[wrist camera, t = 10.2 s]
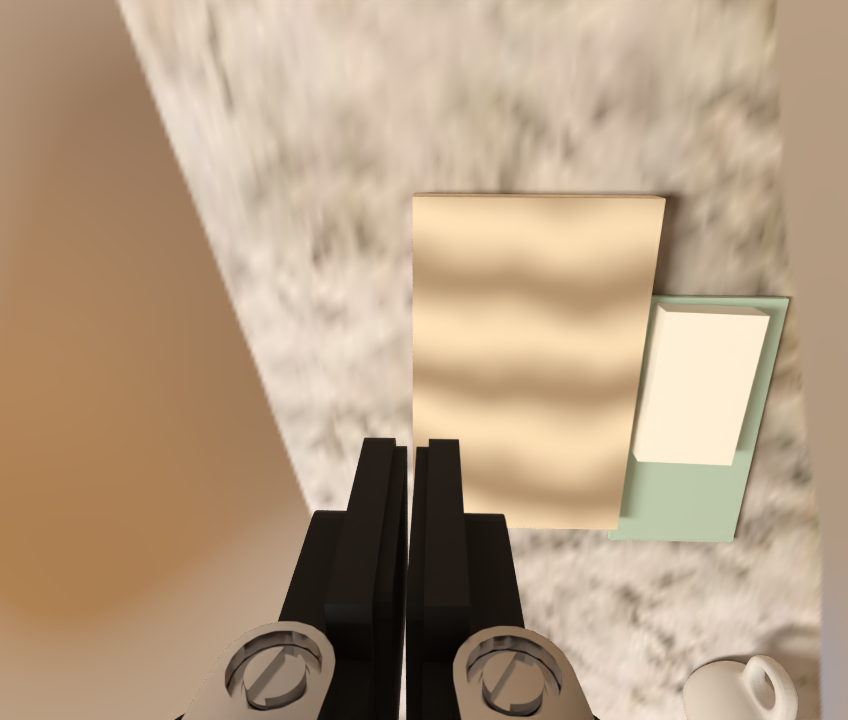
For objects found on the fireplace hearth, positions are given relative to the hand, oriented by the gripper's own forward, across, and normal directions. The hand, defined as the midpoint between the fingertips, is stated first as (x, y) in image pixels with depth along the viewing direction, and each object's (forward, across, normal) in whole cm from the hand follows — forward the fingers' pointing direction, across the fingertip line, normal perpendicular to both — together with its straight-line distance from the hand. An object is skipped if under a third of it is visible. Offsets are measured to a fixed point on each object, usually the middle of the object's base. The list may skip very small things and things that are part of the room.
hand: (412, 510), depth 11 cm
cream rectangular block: (+27, -17, +8) cm, 32 cm away
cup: (+27, -24, +34) cm, 50 cm away
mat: (+27, -18, +12) cm, 34 cm away
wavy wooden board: (+27, -6, +8) cm, 29 cm away
